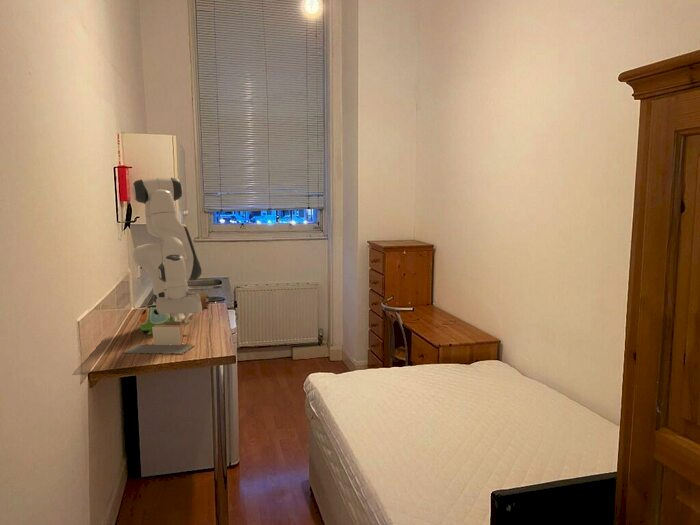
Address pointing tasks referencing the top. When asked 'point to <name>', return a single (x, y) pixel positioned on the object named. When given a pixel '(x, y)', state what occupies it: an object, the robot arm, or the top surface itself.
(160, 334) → the tile
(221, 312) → the top surface
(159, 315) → the turtle holder
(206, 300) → the brown rounded slab
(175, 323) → the scraper
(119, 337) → the top surface
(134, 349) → the mat
